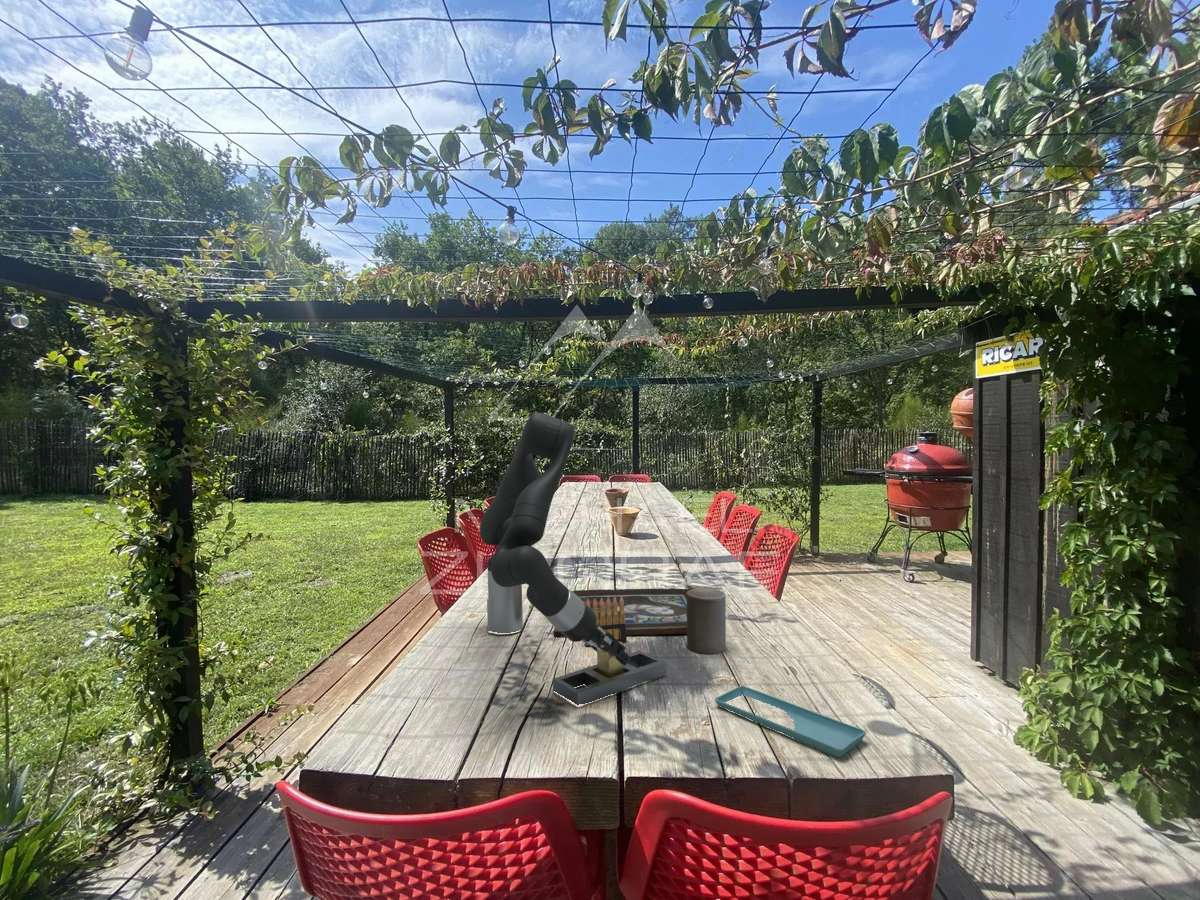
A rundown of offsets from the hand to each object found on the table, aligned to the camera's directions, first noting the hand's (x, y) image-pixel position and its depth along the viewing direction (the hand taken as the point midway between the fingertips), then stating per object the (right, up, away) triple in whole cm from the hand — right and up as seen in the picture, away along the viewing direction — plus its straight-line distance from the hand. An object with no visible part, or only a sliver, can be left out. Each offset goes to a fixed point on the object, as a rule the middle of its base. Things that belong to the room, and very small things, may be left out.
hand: (614, 655), depth 127 cm
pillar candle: (+24, -5, +20) cm, 31 cm away
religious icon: (+7, -5, +48) cm, 49 cm away
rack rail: (-1, -6, 0) cm, 6 cm away
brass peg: (-1, -6, 0) cm, 6 cm away
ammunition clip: (-2, -6, +24) cm, 24 cm away
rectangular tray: (+31, -7, -19) cm, 37 cm away
